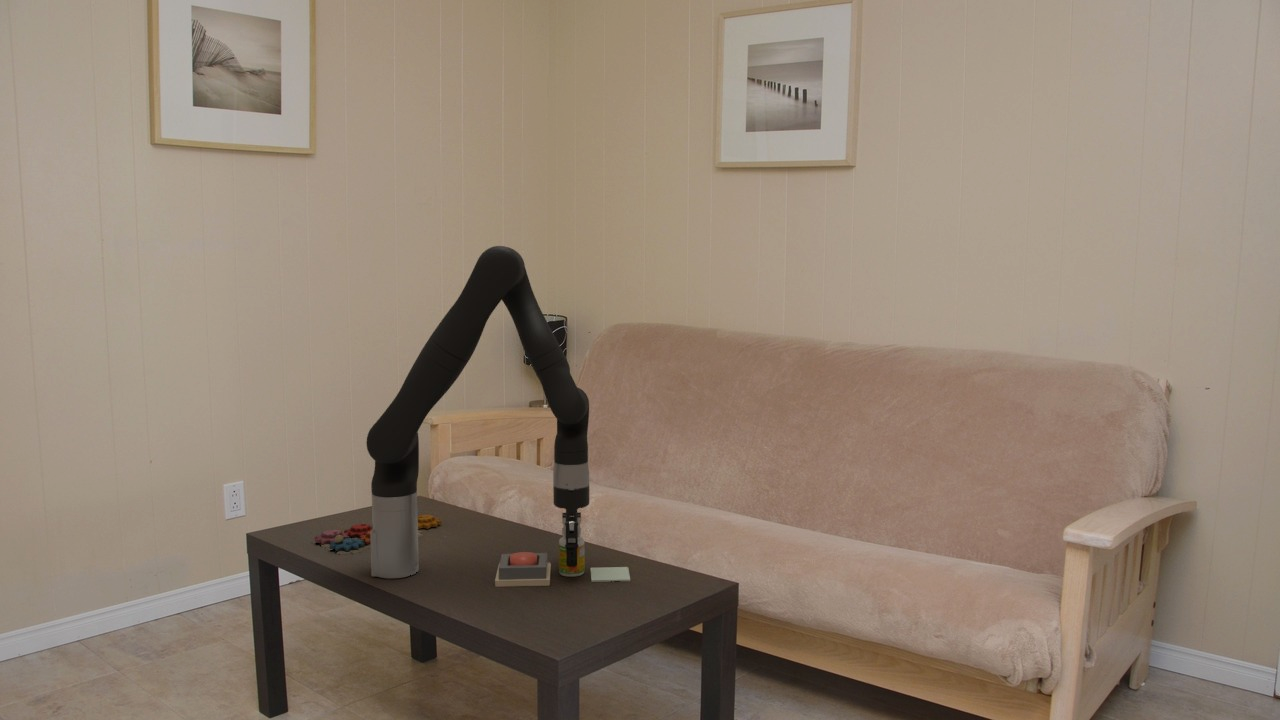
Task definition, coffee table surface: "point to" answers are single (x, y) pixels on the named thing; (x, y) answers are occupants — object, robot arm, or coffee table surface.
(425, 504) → the coffee table surface
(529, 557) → the dome button
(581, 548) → the supplement bottle
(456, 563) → the coffee table surface
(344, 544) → the gear puzzle
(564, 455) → the robot arm
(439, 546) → the coffee table surface
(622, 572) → the mat
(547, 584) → the dome console
